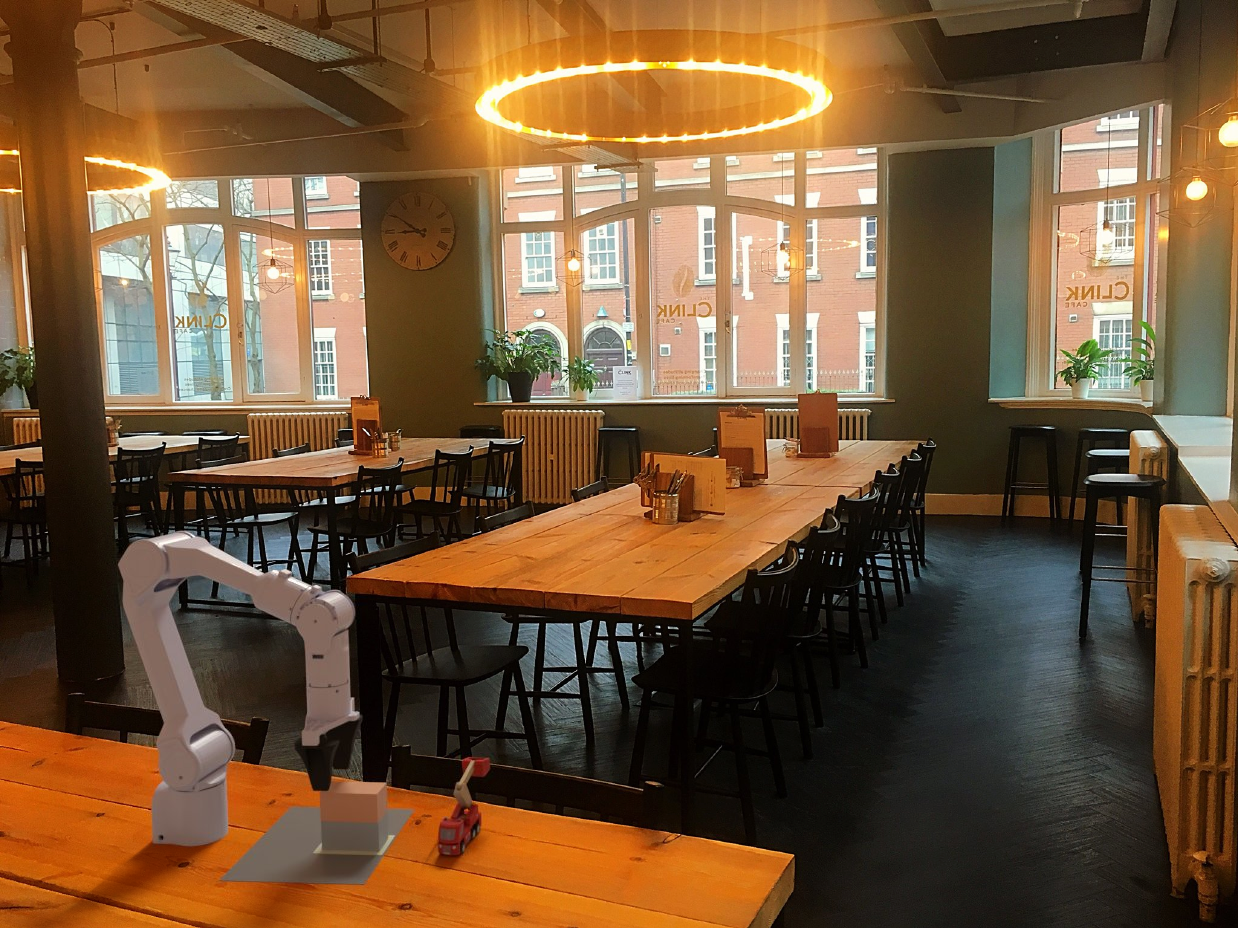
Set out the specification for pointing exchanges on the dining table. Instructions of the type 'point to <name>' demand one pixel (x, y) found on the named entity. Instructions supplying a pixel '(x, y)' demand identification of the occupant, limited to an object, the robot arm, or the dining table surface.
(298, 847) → the baseplate
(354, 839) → the slate brick
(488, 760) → the toy fire truck
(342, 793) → the terracotta brick
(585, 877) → the dining table surface
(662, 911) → the dining table surface
